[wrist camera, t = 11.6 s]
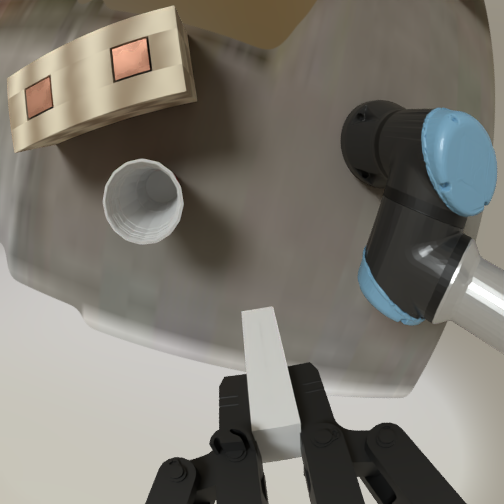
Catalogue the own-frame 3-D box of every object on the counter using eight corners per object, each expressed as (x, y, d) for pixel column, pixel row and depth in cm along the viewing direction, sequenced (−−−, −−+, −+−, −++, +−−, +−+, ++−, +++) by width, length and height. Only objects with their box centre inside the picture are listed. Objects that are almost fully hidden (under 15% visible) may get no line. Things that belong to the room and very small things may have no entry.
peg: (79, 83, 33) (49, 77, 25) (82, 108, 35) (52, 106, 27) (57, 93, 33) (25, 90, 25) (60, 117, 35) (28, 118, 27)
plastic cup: (181, 141, 42) (164, 145, 31) (204, 204, 46) (196, 228, 35) (120, 166, 42) (88, 180, 31) (144, 225, 47) (121, 255, 36)
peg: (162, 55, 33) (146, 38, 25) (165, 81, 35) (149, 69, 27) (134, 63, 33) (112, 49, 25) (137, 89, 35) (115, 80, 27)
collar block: (187, 33, 34) (174, 5, 23) (197, 101, 39) (186, 91, 28) (47, 83, 34) (7, 78, 23) (55, 144, 39) (14, 153, 28)
